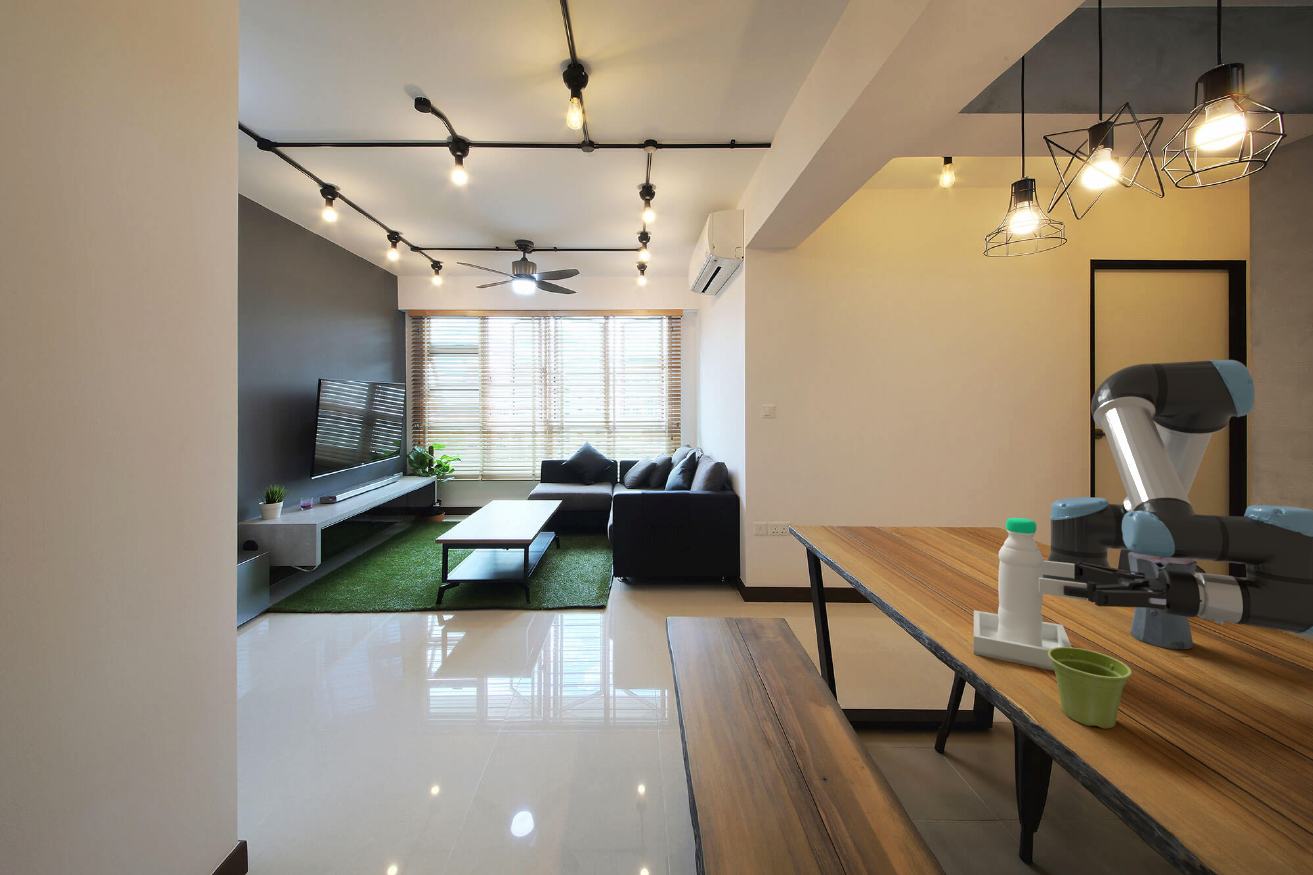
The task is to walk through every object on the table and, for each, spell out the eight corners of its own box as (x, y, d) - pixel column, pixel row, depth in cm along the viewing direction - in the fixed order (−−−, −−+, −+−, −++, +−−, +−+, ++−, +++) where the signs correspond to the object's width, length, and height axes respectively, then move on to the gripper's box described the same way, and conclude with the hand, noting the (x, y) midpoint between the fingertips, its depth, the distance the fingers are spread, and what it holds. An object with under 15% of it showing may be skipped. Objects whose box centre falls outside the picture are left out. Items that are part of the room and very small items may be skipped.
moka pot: (1127, 645, 96) (1129, 545, 95) (1125, 621, 107) (1126, 531, 106) (1199, 660, 89) (1201, 553, 89) (1189, 633, 101) (1190, 538, 100)
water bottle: (1050, 654, 91) (1052, 523, 90) (1008, 651, 93) (1010, 522, 92) (1029, 638, 98) (1031, 516, 97) (990, 635, 100) (992, 515, 99)
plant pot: (1109, 744, 67) (1110, 683, 67) (1034, 708, 76) (1034, 653, 76) (1144, 726, 71) (1145, 668, 71) (1068, 693, 80) (1069, 642, 79)
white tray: (973, 625, 106) (973, 610, 106) (1062, 642, 98) (1062, 624, 98) (973, 653, 93) (973, 636, 93) (1075, 675, 85) (1075, 655, 85)
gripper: (1225, 645, 71) (1042, 616, 83) (1170, 594, 92) (1030, 576, 104) (1225, 595, 71) (1042, 573, 83) (1170, 555, 92) (1030, 542, 104)
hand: (1035, 575), depth 94 cm, fingers open, 13 cm apart
